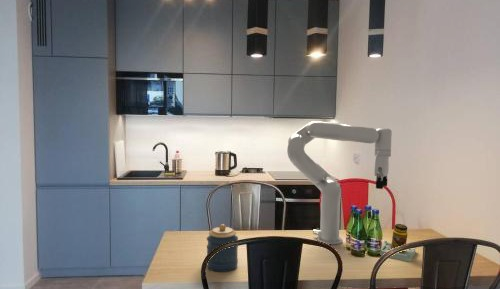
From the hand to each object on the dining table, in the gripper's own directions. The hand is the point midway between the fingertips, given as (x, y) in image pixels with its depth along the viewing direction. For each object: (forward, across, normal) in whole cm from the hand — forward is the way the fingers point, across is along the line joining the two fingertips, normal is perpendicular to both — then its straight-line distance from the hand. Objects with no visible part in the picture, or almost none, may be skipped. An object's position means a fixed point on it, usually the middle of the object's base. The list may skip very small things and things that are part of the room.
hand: (381, 187), depth 175 cm
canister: (+28, +68, -48) cm, 88 cm away
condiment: (+27, +10, +10) cm, 30 cm away
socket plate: (+28, +11, +10) cm, 32 cm away
